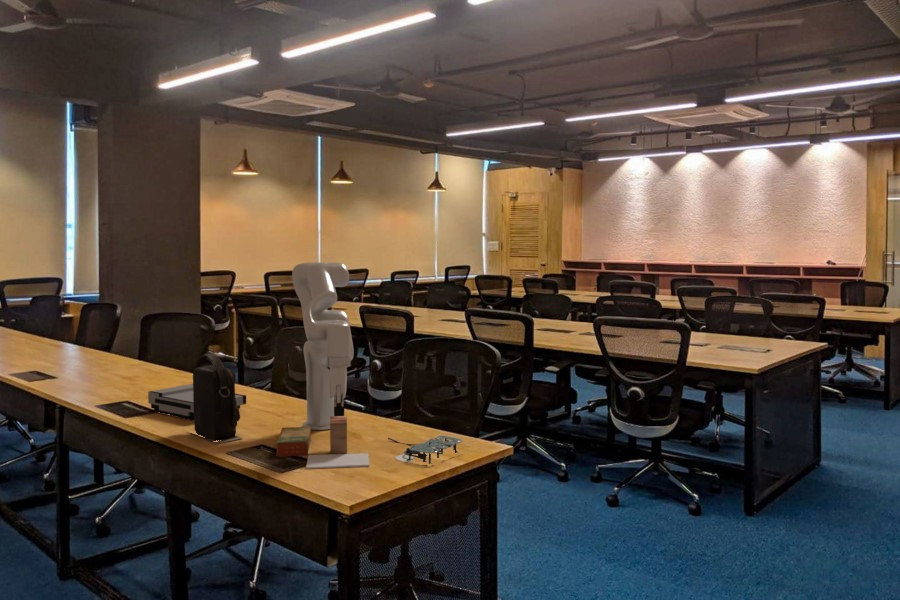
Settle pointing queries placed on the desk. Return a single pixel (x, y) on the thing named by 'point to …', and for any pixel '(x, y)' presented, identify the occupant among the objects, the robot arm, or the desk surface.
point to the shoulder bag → (214, 400)
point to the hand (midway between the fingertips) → (339, 418)
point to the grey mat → (337, 461)
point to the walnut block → (338, 435)
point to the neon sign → (428, 448)
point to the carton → (294, 441)
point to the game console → (179, 401)
